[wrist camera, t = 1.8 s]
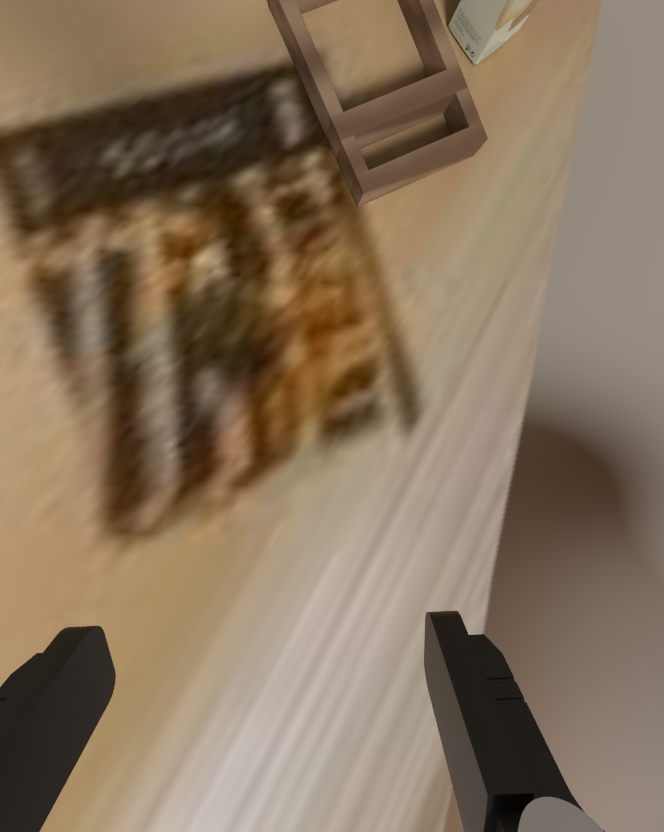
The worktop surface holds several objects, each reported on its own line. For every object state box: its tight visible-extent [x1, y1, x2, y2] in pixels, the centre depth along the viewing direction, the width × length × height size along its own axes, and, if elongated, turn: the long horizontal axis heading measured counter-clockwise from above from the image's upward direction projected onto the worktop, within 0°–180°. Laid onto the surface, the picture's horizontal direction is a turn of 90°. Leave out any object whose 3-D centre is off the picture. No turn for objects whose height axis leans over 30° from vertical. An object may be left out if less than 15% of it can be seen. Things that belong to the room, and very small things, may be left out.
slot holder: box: [268, 0, 488, 207], centre depth 33 cm, size 18×12×2 cm
